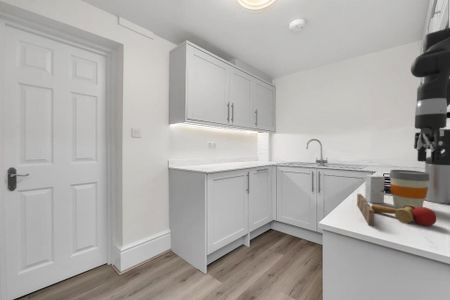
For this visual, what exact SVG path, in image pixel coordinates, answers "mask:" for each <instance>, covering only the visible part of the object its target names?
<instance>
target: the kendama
mask: <svg viewBox="0 0 450 300" xmlns="http://www.w3.org/2000/svg"><path fill="white" fill-rule="evenodd" d="M370 206H371V207H372V209H373V210H374V213H382V214H391V215H395V218H396V219H397V220H398V221H400V222H403V223H405V224H409V223H412V221H414V222H415V223H417V224H418V225H421V226H425V227H426V226H427V227H428V226H429V227H430V226H433V225H435V224H436V222H437V215H436V213H435V212H434V211H433V210H432V209H430V208H428V207H424V206H423V207H415V206H413V205H405V206H404V207H403V208H394V207H389V206H383V205H379V204H375V203H372V204H371V205H370Z"/></svg>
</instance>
